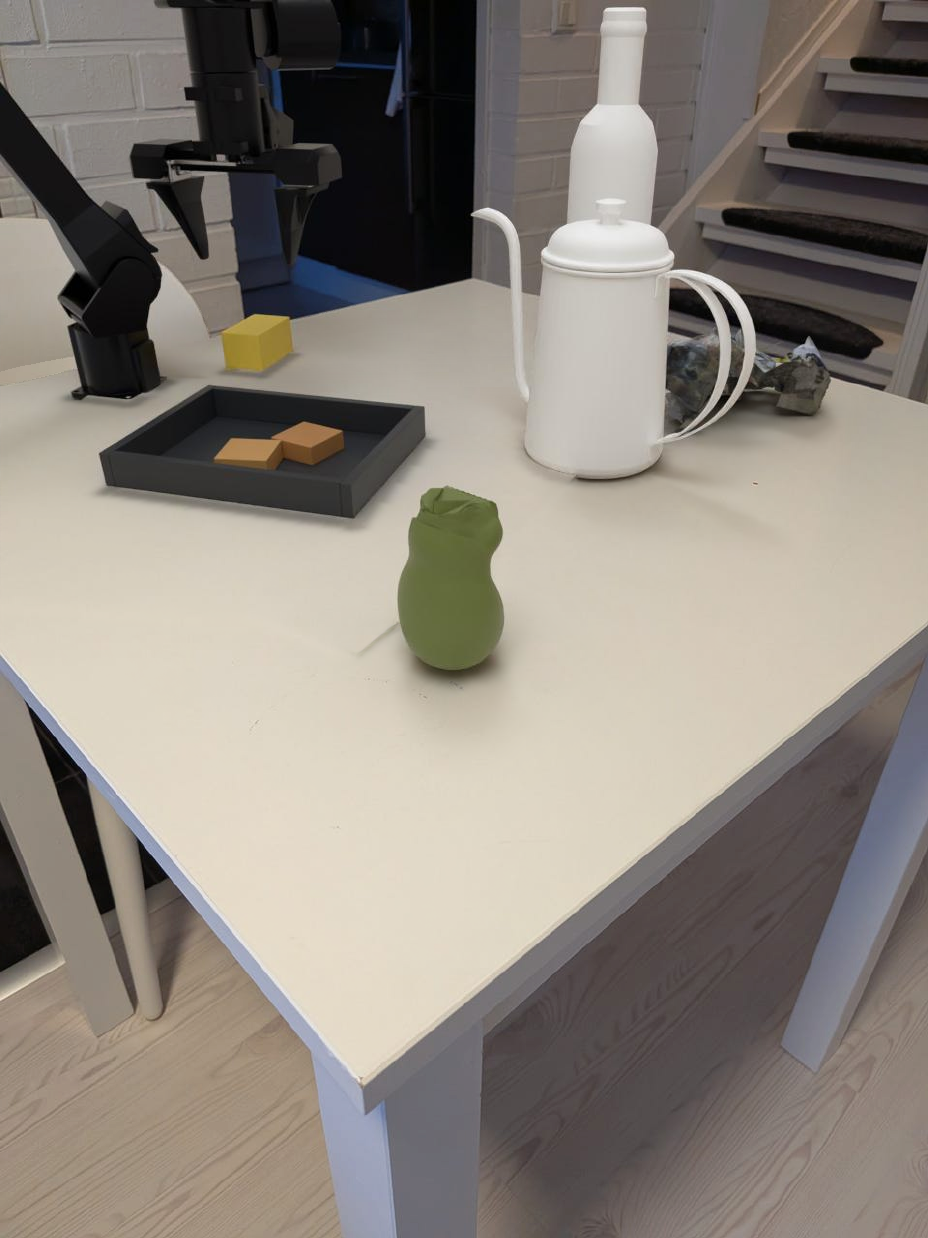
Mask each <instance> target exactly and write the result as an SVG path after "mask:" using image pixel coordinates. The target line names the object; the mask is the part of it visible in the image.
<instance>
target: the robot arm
mask: <svg viewBox="0 0 928 1238" xmlns="http://www.w3.org/2000/svg"><path fill="white" fill-rule="evenodd" d="M153 4H154V6H155V7H156V8H157V9H169V10H170V9H171V10H172V9H174V10H177V9H179V10H180V12H181V18H182V19H181V20H182V27H183V32H184V41H185V47H186V54H187V61H188V62H187V63H188V69H189V75H190V76H189V77H190V82H191V86H184V87H183V90H184V97H185V101H187V102H189V101H190V102H192V101H193V105H194V111H195V118H196V125H197V132H198V139H195V140H192V139H180V138H179V139H176V138H157V139H152V140H147V141H141V142H140V141H139V142H135V143H133V145H132V147H131V150H130V152H129V156H128V161H129V167H130V173H131V177H132V178H133V179H145V180H149V181H146V182H145V187H146V189H147V190H153V191H154V192H155V193H156V195H157V196H158V197H159V199H160V200H161V202H162V203H163V204H164V205H165V207H166V208H167V209H168V211H169V212H170V214H171V215H172V216H173V218H174V219H175V221H176V222H177V224H178V225H179V227H180V228H181V230H182V232H183V234H184V235H185V237H186V239H187V240H188V242H189V244H190V245H191V247H192V249H193V251H194V252H195V254H196V255H197V256H198V258H199V260H202V261H205V260H207V259H209V257H210V253H209V252H210V248H209V247H210V246H209V239H208V232H207V225H206V219H205V213H204V207H203V201H202V193H203V188H204V182H205V175H194V174H192V172H209V173H211V172H212V173H233V174H234V173H235V174H236V173H237V174H257V175H259V174H261V175H274V176H275V177H276V178H277V179H278V180H279V181H280V182H281V183H282V184H283V186H279V187H277V188H273V194H274V201H275V207H276V214H277V220H278V226H279V228H278V229H279V234H280V241H281V247H282V253H283V256H284V259H285V263H286V266H289V267H291V266H293V265H295V264H296V262H297V258H298V254H299V249H300V245H301V240H302V236H303V232H304V227H305V223H306V220H307V216H308V213H309V210H310V207H311V206H312V203H313V201H314V199H315V197H316V195H317V194H318V192H321V191H324V190H327V189H328V188H329V185H330V182H334V181H336V180H339V179H342V178H343V171H342V170H343V169H342V158H341V156H340V154H339V152H338V150H337V148H336V147H335V145H334V144H333V143H308V142H307V143H306V142H305V143H304V142H298V143H297V142H296V143H293V139H294V120H293V119H292V118H291V117H289V116H288V115H286V113H284V112H283V111H281V110H279V109H278V108H276V107H272V106H271V104H270V101H269V92H268V90H267V85H266V84H265V83H264V84H260V83H259V76H258V75H259V74H258V65H257V64H258V63H257V58H261V59H263V62H264V63H265V65H266V67H267V68H268V69H270V70H271V71H277V72H278V71H309V70H310V71H311V70H312V71H313V70H314V71H315V70H331V69H334V67H336V65H337V64H338V61H339V59H340V54H341V49H342V28H341V23H340V22H338V21H339V20H338V16H337V12H336V9H335V7H334V4H333V2H332V1H331V0H153ZM218 156H227V160H220V159H219V160H218ZM242 156H243V157H242ZM0 162H1V164H2V166H4V168H5V169H6V170H7V171H8V173H10V175H11V176H12V178H14V180H15V181H16V182H17V183H18V184H19V186H20V187H21V188H22V189H23V191H25V193H26V194H27V195H28V197H29V198H30V199H31V200H32V202H33V203H34V204H35V205H36V206H37V208H38V209H39V210H40V211H41V212H42V214H43V215H44V216H45V217H46V219H47V221H48V223H49V225H50V226H51V229H52V230H53V233H54V235H55V237H56V239H57V241H58V243H59V245H60V246H61V249H62V251H63V252H64V254H65V256H66V257H67V259H68V261H69V263H70V265H71V266H72V268H73V269H74V271H73V273H72V275H70V277H69V279H68V280H67V282H66V283H65V284H64V286H63V287H62V289H61V290H60V291H59V293H58V295H57V297H56V298H57V301H58V303H59V304H60V306H61V307H62V309H63V310H64V312H65V314H66V315H67V317H68V318H69V319H71V320H73V321H74V322H73V323H71V324H69V325H67V326H66V327H67V332H68V337H69V340H70V345H71V348H72V352H73V356H74V361H75V364H76V369H77V373H78V378H79V382H80V386H79V387H77V388H75V389H73V390H71V391H70V395H71V397H72V398H76V399H85V398H86V397H88V396H90V397H99V398H109V399H118V400H119V399H120V400H132V399H134V398H137V397H138V396H139V395H141V394H144V393H146V392H149V391H151V390H152V389H154V388H155V387H157V386H159V385H160V384H161V383H162V382H164V381H165V380H167V379H168V377H167V376H164V375H163V376H162V375H161V374H160V373H161V372H160V369H159V363H158V358H157V353H156V348H155V347H156V346H155V343H154V340H153V339H151V338H150V335H149V329H148V321H149V315H150V309H151V304H152V303H153V302H154V301H155V300H156V299H157V298H158V296H159V294H160V291H161V288H162V279H163V278H162V277H163V273H162V268H161V265H160V264H159V262H158V260H157V258H156V257H155V256H154V255H153V254H156V253H158V252H159V248H158V247H157V246H155V245H153V244H151V243H150V242H149V241H148V240H147V238H145V236H144V235H143V234H142V232H141V231H140V228H139V226H138V225H137V223H136V221H135V219H134V217H133V216H132V215H131V213H130V211H129V210H128V209H127V208H125V207H122V206H120V205H118V204H115V203H114V202H111V201H109V200H105V201H104V202H103V203H102V205H101V206H100V205H99V204H98V203H97V202H96V201H95V200H93V199H92V198H91V197H90V196H89V195H88V193H87V192H86V191H85V189H84V188H83V186H82V185H81V184H80V183H79V182H78V180H77V179H76V178H75V176H74V175H73V173H71V171H70V170H69V168H68V167H67V166H66V165H65V163H64V162H63V161H62V160H61V158H60V157H59V156H58V155H57V153H56V152H55V151H54V149H53V148H52V146H50V144H49V142H48V141H47V140H46V139H45V138H44V136H43V135H42V134H41V132H40V131H39V130H38V128H37V127H36V126H35V125H34V123H33V122H32V120H31V119H30V118H29V116H28V115H27V114H26V113H25V111H24V110H23V108H21V106H20V105H19V104H18V103H17V101H16V100H15V99H14V98H13V96H12V95H11V93H10V92H9V91H8V90H7V88H6V87H5V85H4V84H3V83H2V82H1V81H0Z"/></svg>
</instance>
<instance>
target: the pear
mask: <svg viewBox="0 0 928 1238" xmlns="http://www.w3.org/2000/svg"><path fill="white" fill-rule="evenodd" d="M419 505H420V506H419V507H420V508H419V511H418V514H417V516H416V517H415V516H413V517H411V520H410V524H409V528H408V533H407V542H408V544H407V545H408V556H407V560H406V561H405V565H404V567H403V569H402V571H401V574H400V577H399V581H398V585H397V596H396V597H397V600H396V601H397V614H398V619H399V625H400V628H401V632H402V634H403V637H404V640H405V642H406V644H407V646H408V647H409V649H410V650H411V651H412V652H413V654H415V656H416V657H417V658H419V659H420V660H421V661H422V662H424V663H425V664H426V665H428V666H431V667H433V668H436V669H440V670H444V671H461V670H465V669H469V668H472V667H475V666H476V665H479V664H480V663H481V662H483V661H484V660H486V659H487V658H488V657H489V656H490V655H491V654H492V652H494V650H495V649H496V647H497V646H498V644H499V641H500V639H501V637H502V634H503V631H504V625H505V610H504V604H503V599H502V597H501V594H500V592H499V590H498V588H497V586H496V584H495V582H494V580H493V577H492V569H491V567H492V565H491V564H492V558H493V556H494V554H495V553H496V551H497V550H498V548H499V546H500V544H501V542H502V540H503V537H504V529H503V525H502V522H501V520H500V518H499V508H498V505H497V503H496V502H494V501H493V500H489V499H487V498H483V497H481V496H477V495H475V494H471V493H470V492H465V491H464V490H460V489H459V488H454V487H453V486H449V485H445V486H443V487H430V488H429V489H428V490H427V491H426V492H425V493H423V494H421V496H420V500H419Z"/></svg>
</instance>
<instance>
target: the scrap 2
mask: <svg viewBox="0 0 928 1238" xmlns="http://www.w3.org/2000/svg"><path fill="white" fill-rule="evenodd" d="M271 440H281V443H282V451H283V458H286V459H290V460H293V461H297V462H301V463H305V464H308V465H314V464H316V463H318V462H320V461H322V460H324V459H326V458H327V457H329V456H331V455H333V454H335V453H337V452H338V451H340V450H342V449H344V438H343V431H341V430H337V429H333V428H329V427H325V426H321V425H316V424H312V423H308V422H302V423H300V424H298V425H296V426H294V427H292V428H289V429H287V430H285V431H283V432H281V433H279V434H277V435H275V436H273V437H271Z"/></svg>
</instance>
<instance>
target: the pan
mask: <svg viewBox="0 0 928 1238" xmlns="http://www.w3.org/2000/svg"><path fill="white" fill-rule="evenodd" d="M302 422H308V423H312V424H316V425H321V426H325V427H329V428H333V429H337V430H341V431H343V438H344V449H342V450H340V451H338V452H337V453H335V454H333V455H331V456H329V457H327V458H326V459H324V460H322V461H320V462H318V463H316V464H314V465H308V464H305V463H301V462H297V461H293V460H290V459H286V458H283V459H282V461H281V462H280V464H279V465H278V466H277V468H276V469H275V470H269V469H260V468H252V467H244V466H236V465H228V464H220V463H214V458H215V457H216V455H217V454H218V453H219V452H220V451H221V450H222V449H223V447H224V446H225V445H226V444H227V443H228V442H229V440H230V439H231V438H237V439H261V440H271V437H273V436H275V435H277V434H279V433H281V432H283V431H285V430H287V429H289V428H292V427H294V426H296V425H298V424H300V423H302ZM425 438H426V409H425V406H424V405H413V404H405V403H404V404H403V403H395V402H394V403H393V402H385V401H384V402H383V401H373V400H364V399H354V398H344V397H333V396H325V395H324V396H323V395H315V394H303V393H295V392H284V391H275V390H274V391H273V390H265V389H254V388H245V387H244V388H243V387H235V386H224V385H215V384H206V386H204V387H202V388H201V389H199V390H198V391H195V392H194V393H193V394H191V395H189V396H187V397H186V398H185V399H183V400H182V401H180V402H178V403H177V404H175V405H174V406H172V407H170V408H169V409H167V410H166V411H164V412H163V413H161V414H159V415H158V416H156V417H155V418H153V419H151V420H149V421H148V422H146V423H145V424H143V425H141V426H139V427H138V428H137V429H135V430H134V431H131V432H130V433H128V434H127V435H125V436H124V437H122V438H121V439H119V440H118V441H116V442H114V443H113V444H111V445H109V446H107V448H105V449H103V450H102V451H99V452H98V456H99V460H100V464H101V469H102V473H103V478H104V482H105V485H106V486H108V487H114V488H122V489H129V490H137V491H145V492H151V493H152V492H153V493H157V494H158V493H160V494H167V495H172V496H173V495H175V496H182V497H190V498H197V499H202V500H203V499H204V500H210V501H211V500H212V501H217V502H218V501H219V502H225V503H227V502H228V503H233V504H234V503H235V504H241V505H249V506H255V507H264V508H269V509H278V510H284V511H285V510H287V511H293V512H302V513H308V514H315V515H323V516H331V517H338V518H339V517H340V518H347V519H355V517H356V516H357V515H358V514H359V513H360V512H361V510H362V509H364V507H365V506H366V505H367V504H368V503H369V501H370V500H371V499H372V498H373V497H374V496H375V495H376V493H378V491H379V490H380V489H382V487H383V485H384V484H385V483H386V482H387V481H388V480H389V479H390V478H391V477H392V476H393V474H394V473H395V472H396V471H397V469H399V467H400V466H401V465H402V464H403V463H404V461H406V459H408V457H409V456H410V454H411V453H412V452H413V451H414V450H415V449H416V448H417V447H418V446H419V445H420V444H421V442H422V441H423V440H424V439H425Z"/></svg>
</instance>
